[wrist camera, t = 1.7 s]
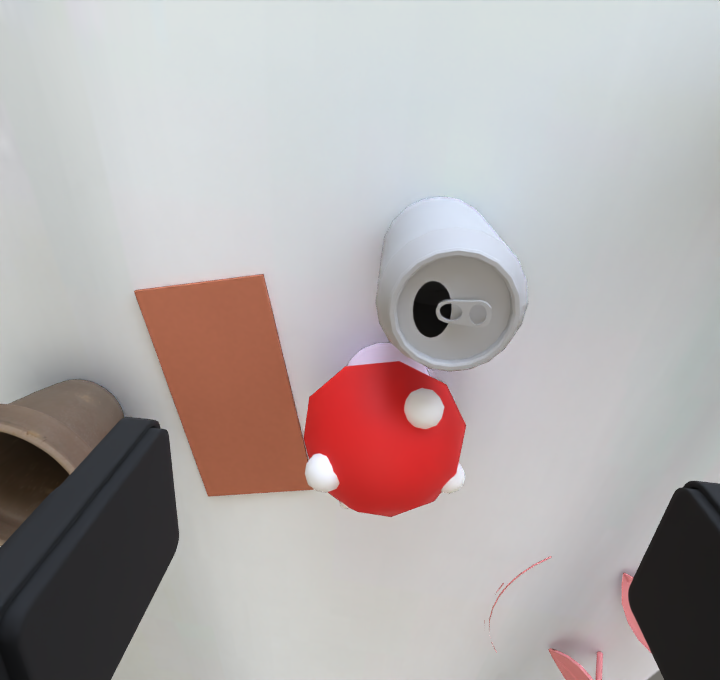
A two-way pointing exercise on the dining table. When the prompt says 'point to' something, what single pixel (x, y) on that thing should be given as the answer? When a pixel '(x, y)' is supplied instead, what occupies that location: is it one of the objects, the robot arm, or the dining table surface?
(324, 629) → the dining table surface
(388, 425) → the mushroom
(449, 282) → the can
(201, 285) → the napkin
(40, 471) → the flower pot
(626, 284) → the dining table surface
